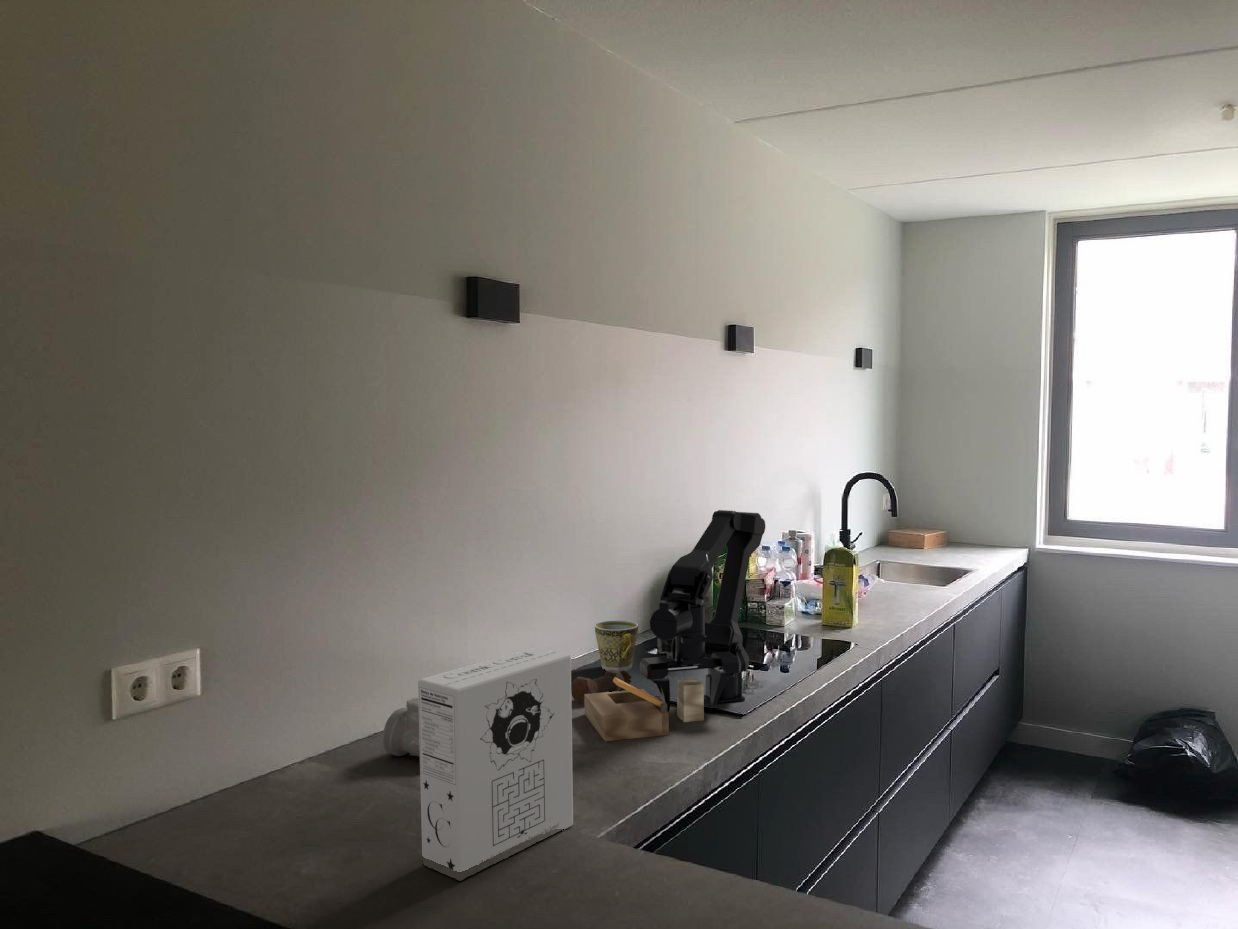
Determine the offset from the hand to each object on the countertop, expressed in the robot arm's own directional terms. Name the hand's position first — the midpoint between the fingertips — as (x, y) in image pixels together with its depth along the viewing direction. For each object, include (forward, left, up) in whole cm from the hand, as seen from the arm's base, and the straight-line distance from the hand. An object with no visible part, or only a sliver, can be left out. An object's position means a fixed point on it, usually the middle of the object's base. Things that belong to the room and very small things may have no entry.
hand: (690, 709), depth 189 cm
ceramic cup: (+4, -37, -2) cm, 37 cm away
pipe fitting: (+51, +7, -2) cm, 52 cm away
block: (+13, 0, -2) cm, 13 cm away
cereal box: (+43, +44, -2) cm, 62 cm away
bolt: (+12, -20, -2) cm, 23 cm away
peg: (0, 0, -2) cm, 2 cm away
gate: (+12, +4, +5) cm, 13 cm away
